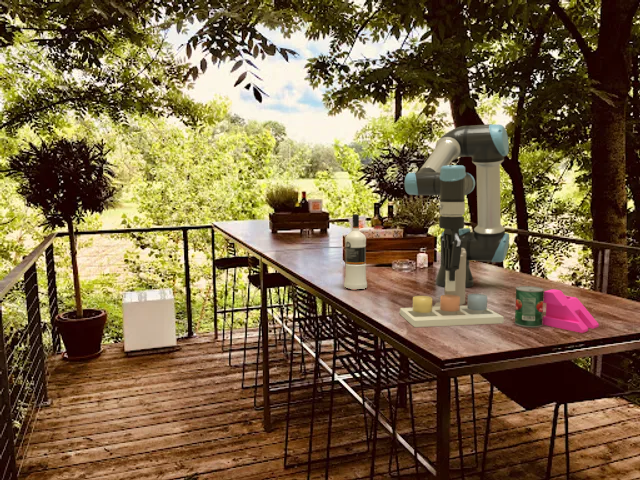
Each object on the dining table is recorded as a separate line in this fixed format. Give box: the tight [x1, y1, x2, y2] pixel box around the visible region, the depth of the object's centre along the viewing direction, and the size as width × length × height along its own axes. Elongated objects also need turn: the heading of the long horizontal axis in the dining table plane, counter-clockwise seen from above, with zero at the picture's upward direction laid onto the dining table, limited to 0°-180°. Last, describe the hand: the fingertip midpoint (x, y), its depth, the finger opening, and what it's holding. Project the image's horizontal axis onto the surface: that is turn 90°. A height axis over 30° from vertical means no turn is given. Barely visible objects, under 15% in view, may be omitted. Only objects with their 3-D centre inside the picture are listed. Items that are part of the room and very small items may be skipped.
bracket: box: [542, 288, 600, 334], centre depth 163 cm, size 12×10×10 cm
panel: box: [399, 304, 505, 328], centre depth 172 cm, size 16×28×2 cm, turn 98°
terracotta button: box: [439, 294, 461, 312], centre depth 171 cm, size 6×6×4 cm
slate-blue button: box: [466, 293, 488, 310], centre depth 173 cm, size 6×6×4 cm
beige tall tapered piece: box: [432, 248, 466, 307], centre depth 191 cm, size 7×14×20 cm, turn 130°
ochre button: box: [412, 295, 433, 313], centre depth 170 cm, size 6×6×4 cm
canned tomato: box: [514, 285, 545, 328], centre depth 164 cm, size 8×8×11 cm
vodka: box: [343, 213, 368, 290], centre depth 218 cm, size 9×9×30 cm
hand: (450, 290), depth 171 cm, fingers closed
